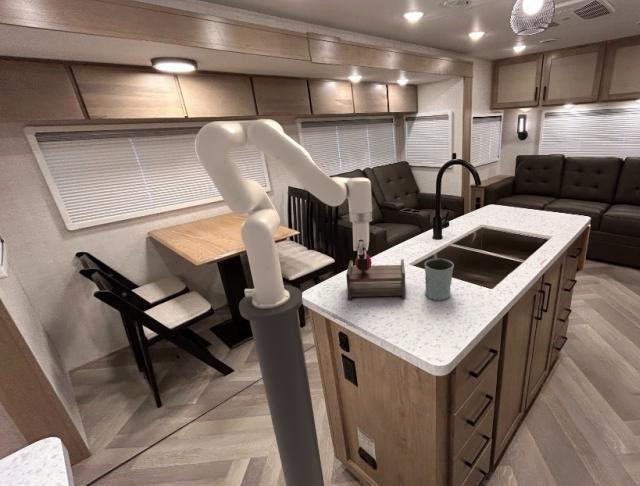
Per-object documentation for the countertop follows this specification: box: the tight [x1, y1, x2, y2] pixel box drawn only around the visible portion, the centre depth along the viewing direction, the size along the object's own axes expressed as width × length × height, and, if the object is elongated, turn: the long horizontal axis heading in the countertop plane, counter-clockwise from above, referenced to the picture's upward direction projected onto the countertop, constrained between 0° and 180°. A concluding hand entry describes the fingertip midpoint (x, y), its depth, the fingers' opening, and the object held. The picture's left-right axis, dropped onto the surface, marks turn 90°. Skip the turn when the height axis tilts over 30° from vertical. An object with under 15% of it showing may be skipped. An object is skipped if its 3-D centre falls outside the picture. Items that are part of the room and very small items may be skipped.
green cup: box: [424, 258, 455, 301], centre depth 113 cm, size 10×10×12 cm
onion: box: [354, 252, 372, 272], centre depth 113 cm, size 6×6×8 cm
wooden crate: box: [345, 259, 406, 301], centre depth 116 cm, size 20×12×10 cm, turn 92°
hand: (363, 264), depth 113 cm, fingers open, 6 cm apart
